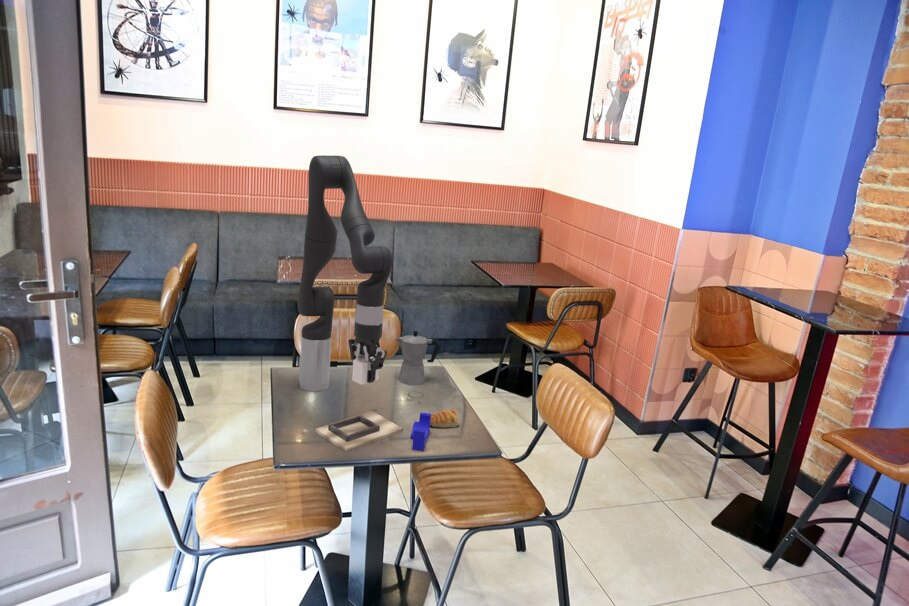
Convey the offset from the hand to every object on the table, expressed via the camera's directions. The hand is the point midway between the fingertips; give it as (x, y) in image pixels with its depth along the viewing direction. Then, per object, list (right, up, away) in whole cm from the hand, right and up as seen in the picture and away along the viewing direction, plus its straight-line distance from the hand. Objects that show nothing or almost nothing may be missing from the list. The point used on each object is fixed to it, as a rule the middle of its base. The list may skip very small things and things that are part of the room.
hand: (365, 379), depth 172 cm
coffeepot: (+11, -6, +43) cm, 45 cm away
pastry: (+18, -15, +14) cm, 28 cm away
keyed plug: (0, 0, 0) cm, 0 cm away
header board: (-2, -15, +3) cm, 15 cm away
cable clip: (+15, -18, +1) cm, 23 cm away
